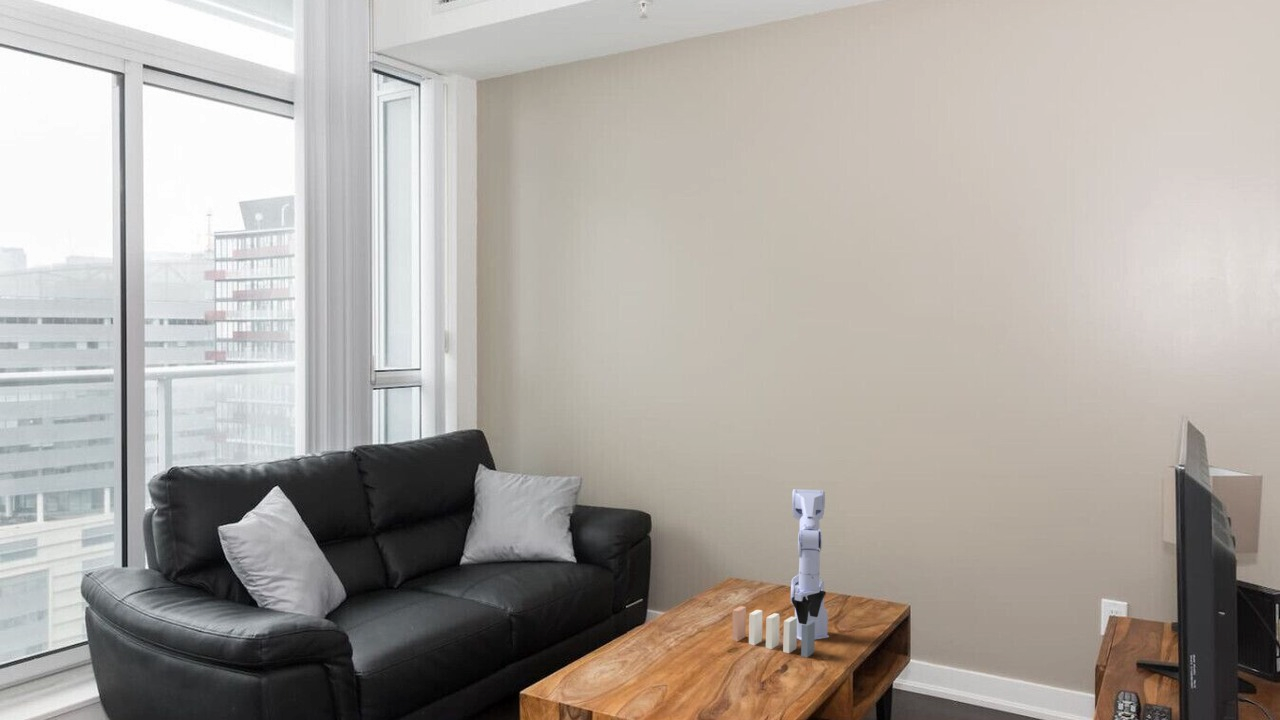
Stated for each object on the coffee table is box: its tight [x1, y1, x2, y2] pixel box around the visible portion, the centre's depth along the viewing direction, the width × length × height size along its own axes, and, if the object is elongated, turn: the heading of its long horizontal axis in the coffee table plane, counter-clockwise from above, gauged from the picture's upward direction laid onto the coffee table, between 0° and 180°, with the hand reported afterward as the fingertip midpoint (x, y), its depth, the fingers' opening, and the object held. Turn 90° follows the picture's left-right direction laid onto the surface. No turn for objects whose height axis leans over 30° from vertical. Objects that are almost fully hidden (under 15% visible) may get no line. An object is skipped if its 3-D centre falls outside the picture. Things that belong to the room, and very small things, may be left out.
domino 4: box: [782, 616, 798, 654], centre depth 266 cm, size 2×5×9 cm, turn 146°
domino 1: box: [731, 605, 747, 643], centre depth 276 cm, size 2×5×9 cm, turn 146°
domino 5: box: [800, 620, 815, 658], centre depth 263 cm, size 2×5×9 cm, turn 147°
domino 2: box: [748, 609, 764, 646], centre depth 273 cm, size 2×5×9 cm, turn 146°
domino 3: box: [765, 612, 781, 650], centre depth 270 cm, size 2×5×9 cm, turn 146°
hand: (808, 619), depth 263 cm, fingers open, 7 cm apart
